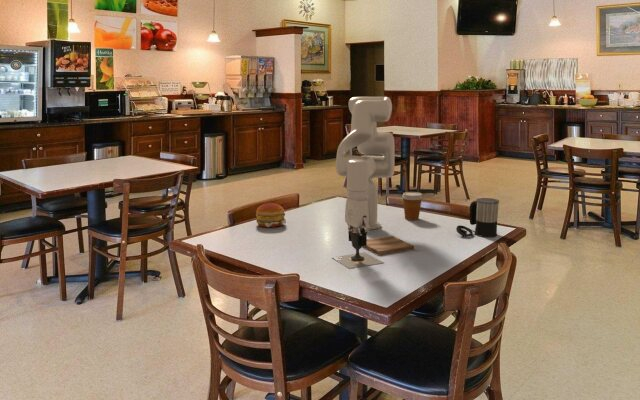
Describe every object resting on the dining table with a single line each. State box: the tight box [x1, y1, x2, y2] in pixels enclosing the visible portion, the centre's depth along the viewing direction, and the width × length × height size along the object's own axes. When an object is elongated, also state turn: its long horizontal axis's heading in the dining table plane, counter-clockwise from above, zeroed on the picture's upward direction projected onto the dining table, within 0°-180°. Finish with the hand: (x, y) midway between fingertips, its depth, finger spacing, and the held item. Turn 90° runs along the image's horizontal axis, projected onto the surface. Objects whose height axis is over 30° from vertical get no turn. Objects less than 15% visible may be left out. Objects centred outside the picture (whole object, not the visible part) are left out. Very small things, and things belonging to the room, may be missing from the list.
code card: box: [336, 251, 385, 269], centre depth 208 cm, size 14×14×1 cm
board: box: [362, 235, 415, 256], centre depth 225 cm, size 16×16×2 cm
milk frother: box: [455, 197, 500, 238], centre depth 239 cm, size 14×16×15 cm
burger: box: [255, 202, 287, 228], centre depth 259 cm, size 14×14×10 cm
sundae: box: [348, 227, 364, 260], centre depth 207 cm, size 7×7×15 cm
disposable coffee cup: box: [401, 191, 423, 221], centre depth 268 cm, size 10×10×12 cm
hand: (357, 242), depth 207 cm, fingers closed on sundae, 6 cm apart
